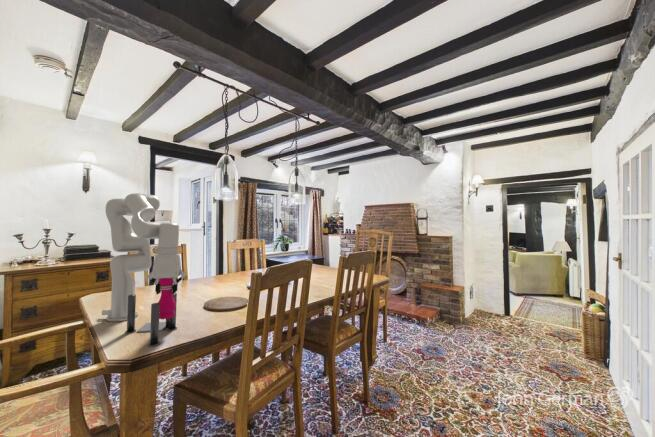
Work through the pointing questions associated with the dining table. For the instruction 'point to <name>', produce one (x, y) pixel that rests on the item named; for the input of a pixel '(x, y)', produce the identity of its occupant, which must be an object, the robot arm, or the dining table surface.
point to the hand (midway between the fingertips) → (166, 292)
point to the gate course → (154, 319)
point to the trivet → (225, 304)
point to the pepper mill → (166, 299)
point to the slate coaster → (148, 326)
